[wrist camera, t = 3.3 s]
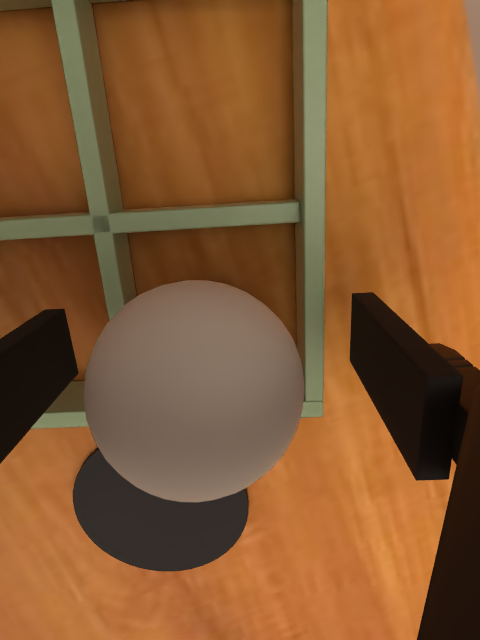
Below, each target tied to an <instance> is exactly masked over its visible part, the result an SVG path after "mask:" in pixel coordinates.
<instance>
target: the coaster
mask: <svg viewBox="0 0 480 640" xmlns="http://www.w3.org/2000/svg"><path fill="white" fill-rule="evenodd" d="M73 503H74V509H75V513H76V516H77V519H78V521H79V523H80V525H81V527H82V528H83V530H84V531H85V533H86V534H87V535H88V537H89V538H90V539H91V540H92V541H93V542H94V543H95V544H96V545H97V546H98V547H100V548H101V549H102V550H103V551H105V552H106V553H108V554H109V555H111V556H112V557H114V558H116V559H118V560H120V561H122V562H125V563H127V564H129V565H132V566H136V567H139V568H143V569H148V570H155V571H182V570H187V569H193V568H196V567H199V566H203V565H205V564H207V563H210V562H212V561H214V560H215V559H217V558H219V557H220V556H222V555H223V554H225V553H226V552H227V551H228V550H229V549H230V548H231V547H232V546H233V545H234V544H235V543H236V542H237V540H238V539H239V537H240V536H241V534H242V532H243V530H244V527H245V525H246V522H247V517H248V495H247V490H246V488H245V489H243V490H241V491H239V492H237V493H235V494H231V495H228V496H225V497H222V498H219V499H215V500H210V501H203V502H178V501H172V500H166V499H163V498H160V497H157V496H154V495H151V494H149V493H147V492H145V491H143V490H141V489H139V488H137V487H136V486H134V485H133V484H132V483H130V482H129V481H128V480H126V479H125V478H124V477H122V476H121V475H120V474H119V473H118V472H117V471H116V470H115V469H114V468H113V467H112V466H111V465H110V464H109V463H108V462H107V460H106V459H105V458H104V456H103V454H102V453H101V451H100V450H99V448H97V449H96V450H95V451H94V452H93V453H92V454H91V455H90V456H89V457H88V458H87V460H86V461H85V462H84V464H83V465H82V467H81V469H80V471H79V473H78V475H77V478H76V480H75V484H74V490H73Z"/></svg>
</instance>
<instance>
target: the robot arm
mask: <svg viewBox="0 0 480 640" xmlns="http://www.w3.org/2000/svg"><path fill="white" fill-rule="evenodd" d="M350 362H351V364H352V365H353V367H354V369H355V371H356V373H357V374H358V376H359V378H360V380H361V382H362V383H363V385H364V387H365V389H366V391H367V393H368V394H369V396H370V398H371V400H372V402H373V403H374V405H375V407H376V409H377V411H378V412H379V414H380V416H381V418H382V420H383V421H384V423H385V425H386V427H387V429H388V430H389V432H390V434H391V436H392V438H393V439H394V441H395V443H396V445H397V447H398V449H399V450H400V452H401V454H402V456H403V458H404V459H405V461H406V463H407V465H408V467H409V468H410V470H411V472H412V474H413V476H414V477H415V479H416V480H444V479H449V474H450V467H451V460H452V459H453V460H454V462H455V463H456V464H457V466H456V471H455V475H454V479H453V484H452V488H451V493H450V497H449V501H448V506H447V510H446V514H445V519H444V523H443V528H442V532H441V536H440V541H439V545H438V550H437V554H436V558H435V563H434V567H433V572H432V576H431V580H430V585H429V589H428V593H427V598H426V602H425V607H424V611H423V615H422V620H421V624H420V629H419V633H418V637H417V640H480V371H479V370H478V369H477V368H476V367H473V365H472V364H471V363H470V362H469V361H467V360H465V358H464V357H463V356H462V355H460V354H459V353H458V352H457V351H456V350H454V349H451V348H449V347H447V346H444V345H442V344H440V343H437V344H428V343H427V342H426V341H425V340H424V339H423V338H422V337H421V336H419V335H418V334H417V333H416V332H415V331H414V330H413V329H412V328H411V327H410V326H409V325H408V324H407V323H405V322H404V321H403V320H402V319H401V318H400V317H399V316H398V315H397V314H396V313H395V312H394V311H392V310H391V309H390V308H389V307H388V306H387V305H386V304H385V303H384V302H383V301H382V300H381V299H380V298H378V297H377V296H376V295H375V294H374V293H373V292H370V293H352V311H351V340H350ZM77 374H78V369H77V364H76V359H75V355H74V350H73V346H72V341H71V337H70V332H69V327H68V323H67V318H66V314H65V309H49V310H44V311H42V312H41V313H39V314H38V315H36V316H34V317H33V318H31V319H30V320H28V321H27V322H25V323H24V324H22V325H21V326H19V327H18V328H16V329H15V330H13V331H11V332H10V333H8V334H7V335H5V336H4V337H2V338H1V339H0V463H1V462H2V461H3V460H4V459H5V458H6V456H7V455H8V454H9V453H10V452H11V451H12V450H13V448H14V447H15V446H16V445H17V444H18V443H19V441H20V440H21V439H22V438H23V437H24V436H25V434H26V433H27V432H28V431H29V430H30V429H31V428H32V426H33V425H34V424H35V423H36V422H37V421H38V419H39V418H40V417H41V416H42V415H43V414H44V413H45V411H46V410H47V409H48V408H49V407H50V406H51V404H52V403H53V402H54V401H55V400H56V399H57V397H58V396H59V395H60V394H61V393H62V392H63V391H64V389H65V388H66V387H67V386H68V385H69V384H70V382H71V381H72V380H73V379H74V378H75V377H76V375H77Z"/></svg>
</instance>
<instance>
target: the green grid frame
mask: <svg viewBox="0 0 480 640" xmlns="http://www.w3.org/2000/svg"><path fill="white" fill-rule="evenodd" d="M115 1H127V0H0V11H6V10H18V9H30V8H42V7H52V9H53V15H54V20H55V26H56V31H57V37H58V42H59V48H60V53H61V59H62V64H63V70H64V75H65V81H66V86H67V92H68V97H69V103H70V108H71V114H72V119H73V125H74V130H75V136H76V141H77V147H78V152H79V158H80V163H81V169H82V174H83V180H84V185H85V191H86V196H87V202H88V207H89V212H77V213H61V214H45V215H29V216H13V217H0V240H16V239H33V238H50V237H66V236H83V235H94V240H95V246H96V251H97V257H98V262H99V268H100V273H101V279H102V284H103V290H104V295H105V301H106V306H107V312H108V317H109V321H110V320H111V319H112V318H113V317H114V316H115V315H116V314H117V313H118V312H119V311H120V310H121V308H122V307H123V306H124V305H125V304H127V303H128V302H130V301H131V300H133V299H134V298H136V297H137V294H136V288H135V281H134V275H133V268H132V262H131V255H130V249H129V242H128V236H127V233H133V232H150V231H166V230H183V229H200V228H216V227H233V226H250V225H266V224H283V223H295V242H296V313H297V351H298V353H299V356H300V359H301V363H302V369H303V375H304V381H305V385H304V401H303V409H302V414H301V417H300V418H305V417H323V389H324V295H325V201H326V107H327V13H328V0H292V30H293V101H294V171H295V200H294V199H286V200H270V201H254V202H238V203H222V204H205V205H189V206H173V207H157V208H141V209H125V210H123V203H122V197H121V190H120V184H119V177H118V171H117V164H116V158H115V151H114V145H113V138H112V132H111V125H110V119H109V112H108V106H107V99H106V93H105V86H104V80H103V73H102V67H101V60H100V54H99V47H98V41H97V34H96V28H95V21H94V15H93V8H92V5H91V3H103V2H115ZM84 384H85V381H71V382H70V384H69V385H68V386H67V387H66V388H65V389H64V391H63V392H62V393H61V394H60V395H59V396H58V397H57V399H56V400H55V401H54V402H53V403H52V404H51V406H50V407H49V408H48V409H47V410H46V411H45V413H44V414H43V415H42V416H41V417H40V418H39V419H38V421H37V422H36V423H35V424H34V425H33V426H32V428H31V429H40V428H64V427H88V426H89V425H88V423H87V420H86V414H85V407H84Z"/></svg>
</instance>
